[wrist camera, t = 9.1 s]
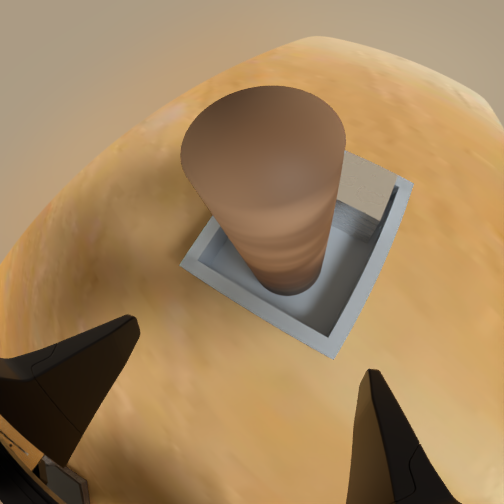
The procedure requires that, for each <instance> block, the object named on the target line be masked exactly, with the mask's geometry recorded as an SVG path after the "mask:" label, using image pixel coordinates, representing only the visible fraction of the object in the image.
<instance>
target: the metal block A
mask: <svg viewBox="0 0 504 504" xmlns="http://www.w3.org/2000/svg"><path fill="white" fill-rule="evenodd" d="M397 177H398V175H397V174H395V173H393V172H391V171H389V170H387V169H385V168H383V167H381V166H379V165H377V164H374V163H372V162H370V161H368V160H366V159H364V158H361V157H359V156H357V155H355V154H352V153H350V152H348V151H346V153H345V155H344V159H343V165H342V171H341V177H340V183H339V188H338V194H337V199H336V204H335V209H334V215H333V219H332V224H331V226H333V227H335V228H337V229H339V230H341V231H343V232H345V233H347V234H349V235H351V236H353V237H355V238H357V239H359V240H360V241H362V242H364V243H366V244H367V243H368V241H369V239H370V238H371V236H372V234H373V233H374V231H375V229H376V227H377V226H378V224H379V222H380V220H381V218H382V215H383V213H384V210H385V208H386V205H387V203H388V201H389V198H390V195H391V193H392V190H393V188H394V185H395V182H396V180H397Z"/></svg>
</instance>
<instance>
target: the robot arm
mask: <svg viewBox="0 0 504 504" xmlns="http://www.w3.org/2000/svg"><path fill="white" fill-rule="evenodd" d="M139 337H140V329H139V325H138V322H137V319H136V317H134V316H131V315H124V316H122V317H119V318H117V319H114V320H112V321H110V322H107V323H105V324H102V325H100V326H97V327H95V328H93V329H90V330H88V331H85V332H83V333H80V334H78V335H76V336H73V337H71V338H68V339H66V340H63V341H61V342H58V343H56V344H53V345H51V346H48V347H46V348H43V349H40V350H37V351H34V352H31V353H28V354H24V355H21V356H18V357H14V358H9V359H4V358H0V500H1V502H2V503H3V504H66V503H65V502H64V501H63V500H62V499H60V498H59V497H58V496H57V495H56V494H55V493H54V492H52V491H51V490H50V489H49V488H48V487H47V486H46V485H47V483H48V479H47V474H46V467H45V461H44V460H43V457H44V456H45V455H46V456H47V457H48V458H50V459H51V460H52V461H54V462H55V463H56V464H58V465H59V466H61V467H62V468H65V466H66V464H67V463H68V461H69V459H70V457H71V455H72V453H73V452H74V450H75V448H76V446H77V444H78V443H79V441H80V439H81V437H82V435H83V434H84V432H85V430H86V429H87V427H88V425H89V423H90V422H91V420H92V418H93V417H94V415H95V413H96V412H97V410H98V408H99V407H100V405H101V403H102V402H103V400H104V398H105V397H106V395H107V393H108V392H109V390H110V389H111V387H112V385H113V384H114V382H115V381H116V379H117V377H118V376H119V374H120V373H121V371H122V369H123V368H124V366H125V364H126V363H127V361H128V359H129V357H130V355H131V353H132V351H133V349H134V347H135V345H136V343H137V341H138V339H139ZM346 504H462V503H460V502H458V501H457V500H456V499H455V498H454V497H453V496H452V495H451V493H450V492H449V490H448V489H447V487H446V486H445V484H444V483H443V481H442V480H441V478H440V477H439V475H438V474H437V472H436V471H435V469H434V467H433V466H432V464H431V463H430V461H429V459H428V457H427V455H426V454H425V452H424V450H423V448H422V446H421V444H419V440H418V439H417V437H416V435H415V433H414V431H413V429H412V427H411V425H410V424H409V422H408V420H407V418H406V416H405V414H404V413H403V411H402V409H401V407H400V405H399V404H398V402H397V400H396V398H395V397H394V395H393V393H392V391H391V390H390V388H389V386H388V384H387V383H386V381H385V379H384V378H383V376H382V374H381V372H380V371H379V370H377V369H368V370H367V371H366V373H365V375H364V377H363V379H362V381H361V383H360V386H359V393H358V400H357V407H356V413H355V420H354V428H353V444H352V457H351V468H350V477H349V486H348V493H347V500H346Z"/></svg>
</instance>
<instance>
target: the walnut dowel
mask: <svg viewBox="0 0 504 504" xmlns="http://www.w3.org/2000/svg"><path fill="white" fill-rule="evenodd" d="M345 145H346V135H345V130H344V127H343V124H342V122H341V120H340V118H339V116H338V115H337V113H336V112H335V111H334V110H333V109H332V108H331V107H330V106H329V105H328V104H327V103H326V102H324V101H323V100H321V99H320V98H318V97H317V96H315V95H313V94H311V93H308V92H305V91H303V90H299V89H296V88H291V87H285V86H260V87H253V88H248V89H244V90H240V91H237V92H234V93H232V94H229V95H227V96H225V97H223V98H221V99H219V100H218V101H216V102H214V103H213V104H211V105H210V106H208V107H207V108H206V109H205V110H204V111H202V112H201V113H200V114H199V115H198V116H197V117H196V119H195V120H194V121H193V122H192V124H191V125H190V127H189V128H188V130H187V132H186V134H185V136H184V139H183V142H182V146H181V164H182V167H183V171H184V173H185V175H186V177H187V178H188V180H189V181H190V183H191V184H192V186H193V187H194V189H195V190H196V192H197V193H198V194H199V196H200V197H201V199H202V200H203V202H204V203H205V205H206V206H207V208H208V209H209V210H210V212H211V213H212V215H213V216H214V218H215V219H216V221H217V222H218V223H219V225H220V226H221V228H222V229H223V231H224V232H225V234H226V235H227V236H228V238H229V239H230V241H231V242H232V244H233V245H234V246H235V248H236V249H237V251H238V252H239V254H240V255H241V256H242V258H243V259H244V261H245V262H246V264H247V265H248V266H249V268H250V269H251V271H252V272H253V274H254V275H255V276H256V278H257V279H258V281H259V282H260V283H261V285H262V286H263V287H264V288H266V289H267V290H268V291H270V292H272V293H274V294H277V295H281V296H293V295H298V294H300V293H303V292H305V291H306V290H308V289H309V288H310V287H311V286H312V285H313V284H314V283H315V282H316V281H317V279H318V277H319V275H320V273H321V269H322V265H323V260H324V256H325V252H326V247H327V243H328V238H329V234H330V229H331V224H332V219H333V215H334V209H335V204H336V199H337V194H338V188H339V183H340V177H341V171H342V165H343V159H344V152H345Z"/></svg>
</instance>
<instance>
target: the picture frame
mask: <svg viewBox="0 0 504 504" xmlns="http://www.w3.org/2000/svg"><path fill="white" fill-rule="evenodd" d="M43 460H44V461H45V467H46V474H47V479H48V483H47V485H46V486H47V487H48V488H49V489H50V490H51V491H52V492H54V493H55V494H56V495H57V496H58V497H59V498H60V499H62V500H63V501H64V502H65V503H66V504H90V501H89V494H88V486H87V481H86V480H85V479H83V478H82V477H80V476H79V475H77V474H76V473H75V472H73V471H72V470H70V469H69V468H68V467H66V466H65V468H62V467H61V466H59V465H58V464H56V463H55V462H54V461H52V460H51V459H50V458H48V457H47V456H46V455H45V456H44V457H43Z"/></svg>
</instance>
